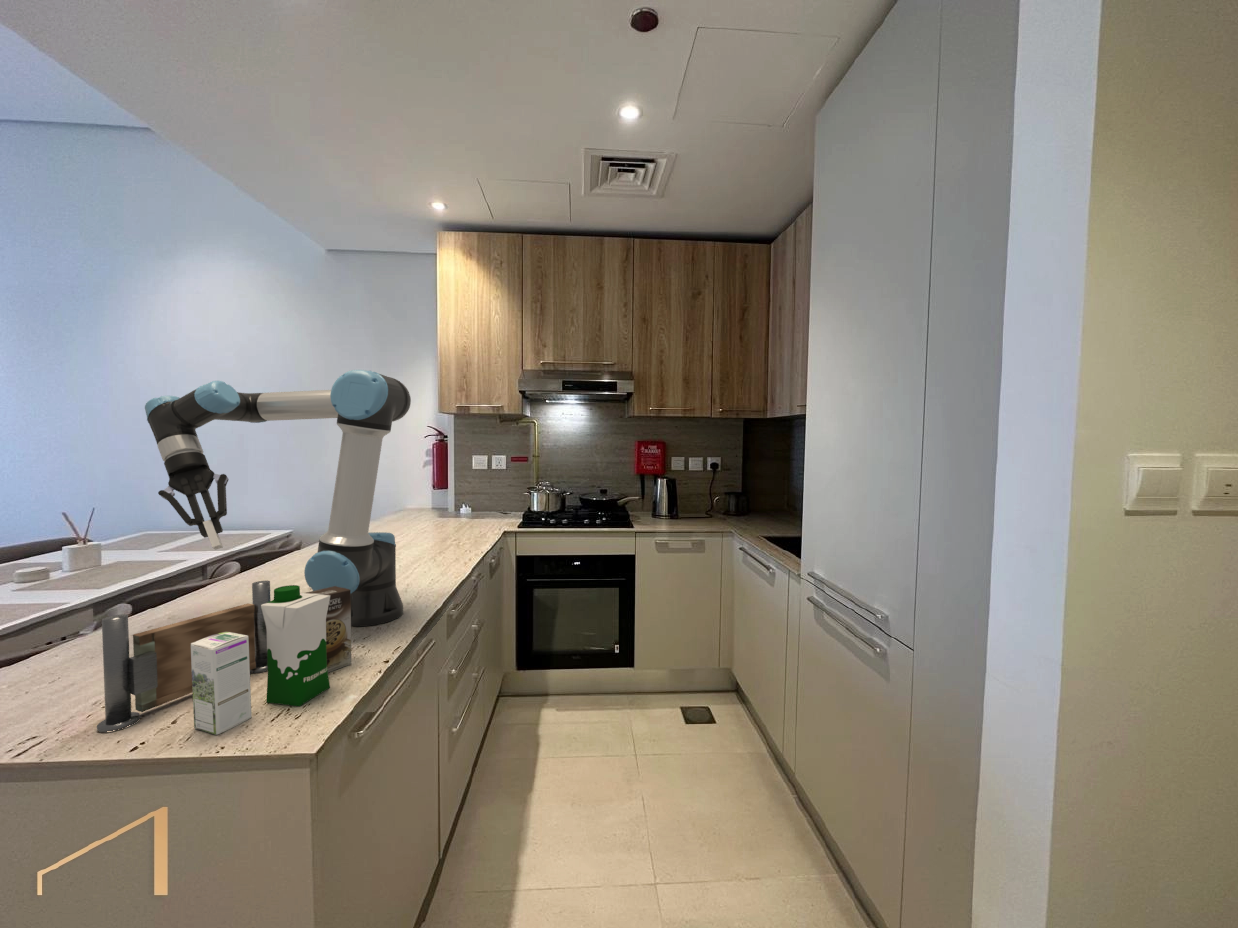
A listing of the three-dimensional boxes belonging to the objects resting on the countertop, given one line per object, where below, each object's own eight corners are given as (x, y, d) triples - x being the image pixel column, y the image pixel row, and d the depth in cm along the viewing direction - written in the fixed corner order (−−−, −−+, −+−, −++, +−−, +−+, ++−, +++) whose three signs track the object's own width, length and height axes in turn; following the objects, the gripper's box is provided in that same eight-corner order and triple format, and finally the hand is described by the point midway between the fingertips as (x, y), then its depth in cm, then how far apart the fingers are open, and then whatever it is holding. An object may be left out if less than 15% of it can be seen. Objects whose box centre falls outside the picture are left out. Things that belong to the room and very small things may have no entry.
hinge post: (268, 660, 105) (266, 578, 104) (283, 664, 103) (281, 580, 102) (242, 670, 100) (240, 584, 99) (257, 675, 98) (255, 587, 97)
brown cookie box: (307, 681, 95) (305, 600, 95) (291, 673, 99) (289, 595, 98) (353, 663, 103) (351, 588, 103) (336, 657, 107) (335, 584, 106)
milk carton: (298, 681, 95) (296, 580, 95) (338, 686, 94) (336, 583, 93) (257, 704, 87) (254, 594, 86) (300, 710, 85) (297, 597, 84)
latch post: (142, 709, 85) (138, 608, 85) (158, 715, 83) (155, 612, 83) (90, 728, 79) (86, 620, 79) (106, 736, 77) (102, 624, 77)
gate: (249, 666, 100) (248, 603, 99) (255, 667, 99) (254, 604, 99) (135, 709, 83) (132, 634, 83) (141, 712, 82) (139, 636, 82)
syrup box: (253, 717, 83) (251, 633, 82) (214, 736, 77) (212, 647, 77) (230, 711, 85) (228, 629, 84) (191, 730, 79) (188, 642, 78)
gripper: (221, 455, 122) (254, 539, 118) (154, 472, 115) (186, 562, 111) (214, 443, 116) (248, 532, 112) (142, 460, 109) (176, 555, 105)
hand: (217, 547), depth 112 cm, fingers closed
